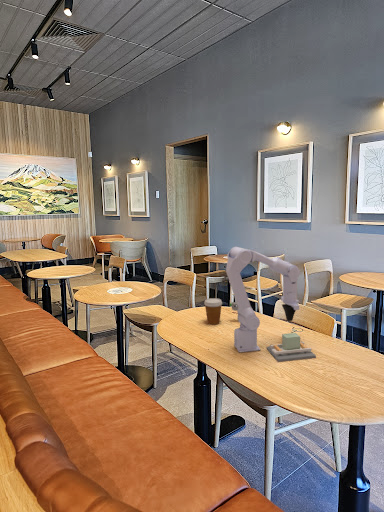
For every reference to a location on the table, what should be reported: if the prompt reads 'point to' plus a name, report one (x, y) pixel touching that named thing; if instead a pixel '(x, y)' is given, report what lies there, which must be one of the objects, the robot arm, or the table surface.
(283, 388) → the table surface
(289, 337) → the block
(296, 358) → the rail board
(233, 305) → the mechanical component
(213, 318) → the disposable coffee cup
